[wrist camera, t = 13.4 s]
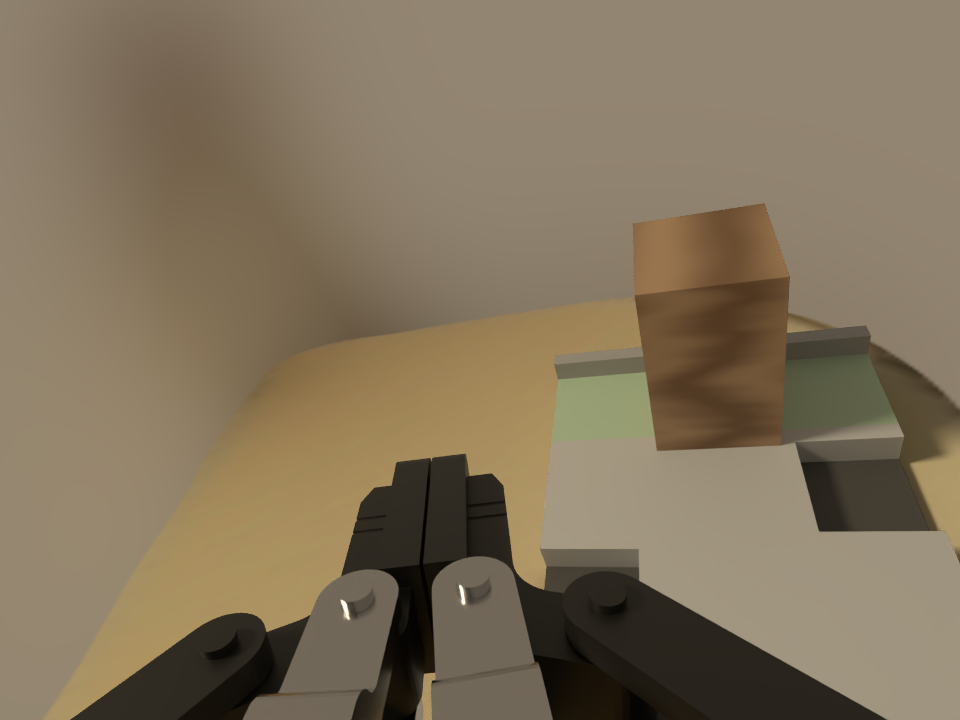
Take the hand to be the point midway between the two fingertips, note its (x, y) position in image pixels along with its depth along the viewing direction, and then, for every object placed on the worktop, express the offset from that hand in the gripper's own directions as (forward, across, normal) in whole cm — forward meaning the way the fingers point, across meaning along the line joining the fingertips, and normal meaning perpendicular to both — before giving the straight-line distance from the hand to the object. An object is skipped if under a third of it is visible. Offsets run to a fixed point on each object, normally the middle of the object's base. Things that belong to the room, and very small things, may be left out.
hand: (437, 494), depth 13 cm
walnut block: (+24, -15, +11) cm, 30 cm away
